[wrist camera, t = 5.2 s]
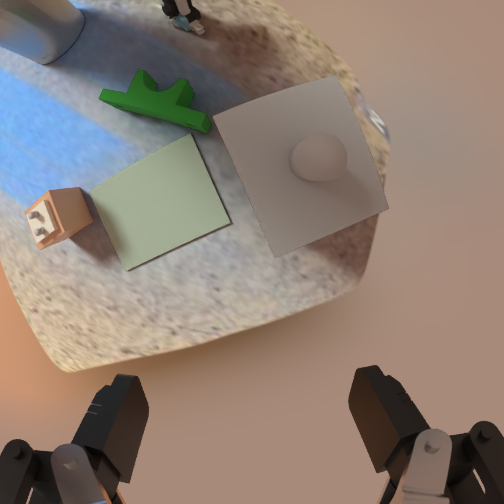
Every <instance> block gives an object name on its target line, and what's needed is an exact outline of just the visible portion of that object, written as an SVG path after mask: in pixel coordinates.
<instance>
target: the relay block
mask: <svg viewBox="0 0 504 504" xmlns="http://www.w3.org/2000/svg"><path fill="white" fill-rule="evenodd" d="M25 215H26V217H27V220H28V223H29V226H30V228H31V231H32V233H33V236H34V239H35V241H36V243H37V246H38V248H39V250H42V249H44V248H46V247H48V246H51V245H53V244H55V243H58V242H60V241H63V240H65V239H68V238H70V237H71V236H72V235H74V234H75V233H77V232H78V231H80V230H81V229H83V228H85V227H86V226H88V225H89V224H91V223H92V222H94V221H93V219H92V217H91V214H90V212H89V210H88V207H87V205H86V202H85V200H84V197H83V195H82V192H81V190H80V187H75V188H65V189H57V190H49V191H48V192H46V193H45V194H44V195H43V196H42V197H41V198H39V199H38V200H37V201H36V202H35V203H34V204H33V205H32V206H31V207H29V208H28V209H27V210H26V211H25Z"/></svg>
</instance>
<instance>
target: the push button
mask: <svg viewBox="0 0 504 504" xmlns="http://www.w3.org/2000/svg"><path fill="white" fill-rule="evenodd" d="M162 1H163V3H162V4H161V5H162V10H163V12H164V13H165V14H166V15H167V17H166V18H167V20H168V22H169V24H171V25H172V26H173V27H174V25H173V22H172V21H175V22H176V23H177V24H178V25H180V26H181V27H182V28H183V29H184V30H186V31H189V30H190V29H191V30H192V31H195V32H196V33H198V34H199V35H201V34H202V33H204V32H205V30H203V28H204V27H203V26H202V25H201V24H200V23H199V20H198V19H200V18H201V15H200V12H199V11H198V10H197V9H196V8H195V7H193V6H192V2H191V0H162ZM200 30H202V31H201V32H198V31H200Z"/></svg>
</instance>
